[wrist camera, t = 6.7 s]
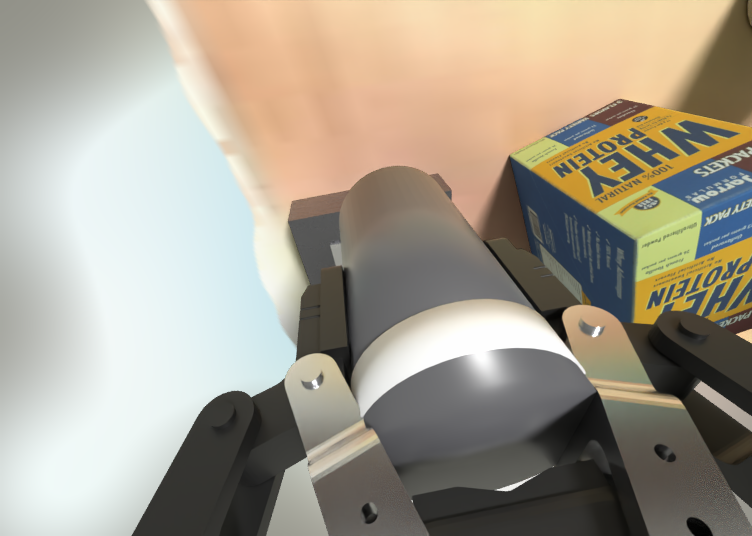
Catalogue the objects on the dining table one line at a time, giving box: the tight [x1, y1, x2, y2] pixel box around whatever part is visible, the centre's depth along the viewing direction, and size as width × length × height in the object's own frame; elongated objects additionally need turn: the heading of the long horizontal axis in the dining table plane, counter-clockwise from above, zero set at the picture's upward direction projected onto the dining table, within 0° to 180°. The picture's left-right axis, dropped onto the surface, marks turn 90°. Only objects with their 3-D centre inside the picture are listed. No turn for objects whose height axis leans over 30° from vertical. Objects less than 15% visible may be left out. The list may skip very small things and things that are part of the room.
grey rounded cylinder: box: [339, 166, 597, 500], centre depth 10 cm, size 5×5×10 cm
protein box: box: [510, 99, 752, 334], centre depth 27 cm, size 10×15×16 cm
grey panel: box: [288, 174, 452, 285], centre depth 33 cm, size 14×20×6 cm
